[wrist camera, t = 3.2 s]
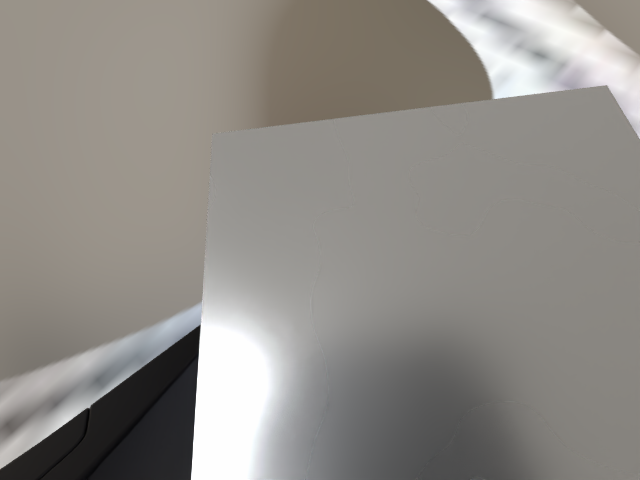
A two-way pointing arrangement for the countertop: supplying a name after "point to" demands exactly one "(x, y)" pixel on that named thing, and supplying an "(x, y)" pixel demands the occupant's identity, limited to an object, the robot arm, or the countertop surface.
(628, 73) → the countertop surface
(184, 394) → the robot arm
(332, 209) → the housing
